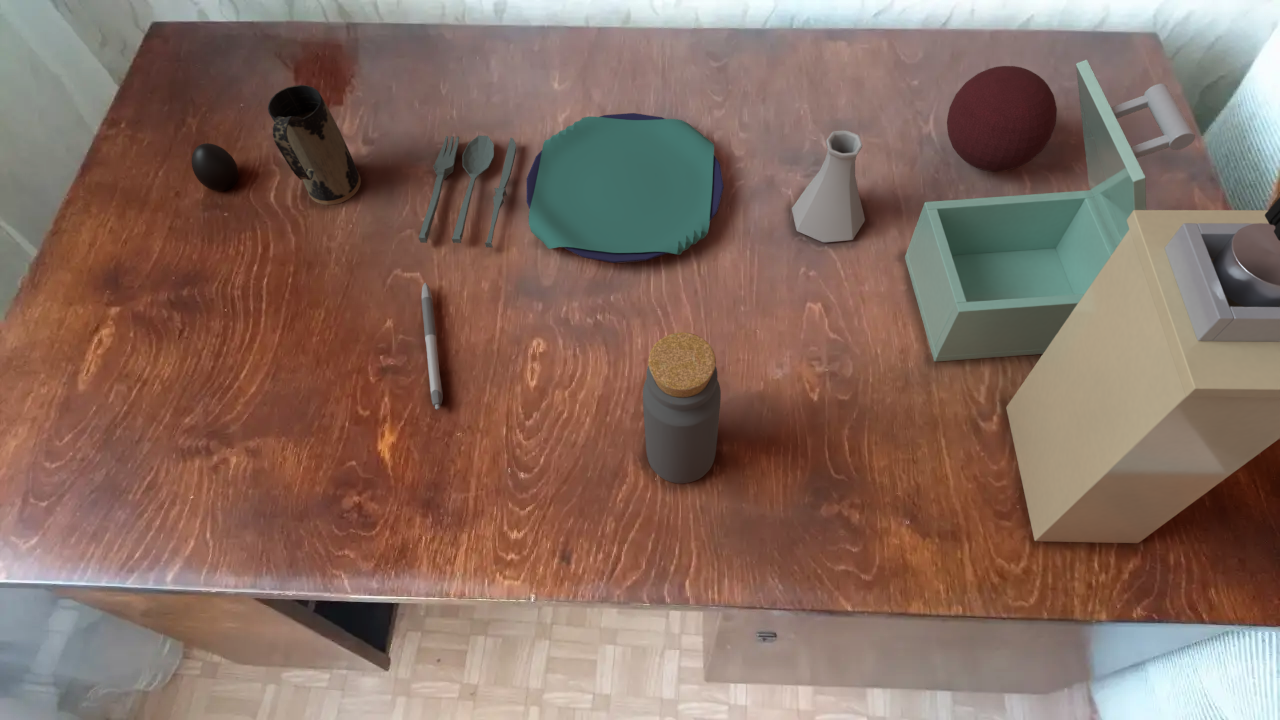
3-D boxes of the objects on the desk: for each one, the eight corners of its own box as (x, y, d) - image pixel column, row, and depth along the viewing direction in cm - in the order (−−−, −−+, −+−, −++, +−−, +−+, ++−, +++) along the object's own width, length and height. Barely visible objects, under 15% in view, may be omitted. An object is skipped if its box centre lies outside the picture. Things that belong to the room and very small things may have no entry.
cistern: (1103, 405, 74) (1301, 183, 51) (1143, 547, 67) (1391, 368, 44) (1001, 403, 74) (1150, 183, 51) (1031, 545, 68) (1217, 366, 44)
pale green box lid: (1133, 181, 58) (1217, 153, 56) (1075, 63, 64) (1149, 34, 62) (1137, 296, 70) (1207, 276, 68) (1088, 187, 76) (1151, 166, 74)
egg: (201, 198, 90) (177, 163, 86) (207, 169, 92) (185, 134, 88) (240, 194, 90) (218, 159, 86) (246, 165, 92) (225, 130, 88)
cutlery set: (718, 278, 82) (719, 263, 80) (411, 263, 84) (405, 248, 82) (726, 129, 92) (727, 113, 91) (452, 119, 95) (447, 102, 93)
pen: (434, 415, 76) (430, 407, 74) (422, 289, 83) (418, 280, 82) (445, 413, 76) (442, 405, 74) (432, 287, 83) (429, 278, 82)
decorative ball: (946, 112, 93) (973, 34, 84) (1042, 134, 90) (1080, 56, 82) (926, 177, 88) (953, 101, 79) (1027, 203, 86) (1066, 127, 77)
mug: (314, 164, 92) (269, 73, 82) (365, 164, 92) (326, 73, 81) (297, 221, 88) (247, 133, 78) (350, 221, 88) (307, 133, 77)
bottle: (647, 420, 75) (641, 324, 62) (715, 422, 74) (723, 325, 61) (645, 483, 72) (638, 395, 59) (715, 485, 71) (724, 397, 58)
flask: (785, 238, 85) (798, 165, 76) (796, 184, 88) (809, 108, 80) (860, 250, 83) (881, 178, 75) (868, 195, 87) (889, 120, 78)
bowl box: (933, 362, 77) (958, 311, 70) (904, 257, 83) (924, 201, 76) (1099, 350, 77) (1140, 298, 70) (1057, 246, 83) (1091, 189, 76)
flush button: (1279, 248, 49) (1303, 222, 47) (1308, 311, 47) (1334, 287, 45) (1200, 247, 50) (1221, 222, 48) (1224, 311, 47) (1247, 287, 45)
